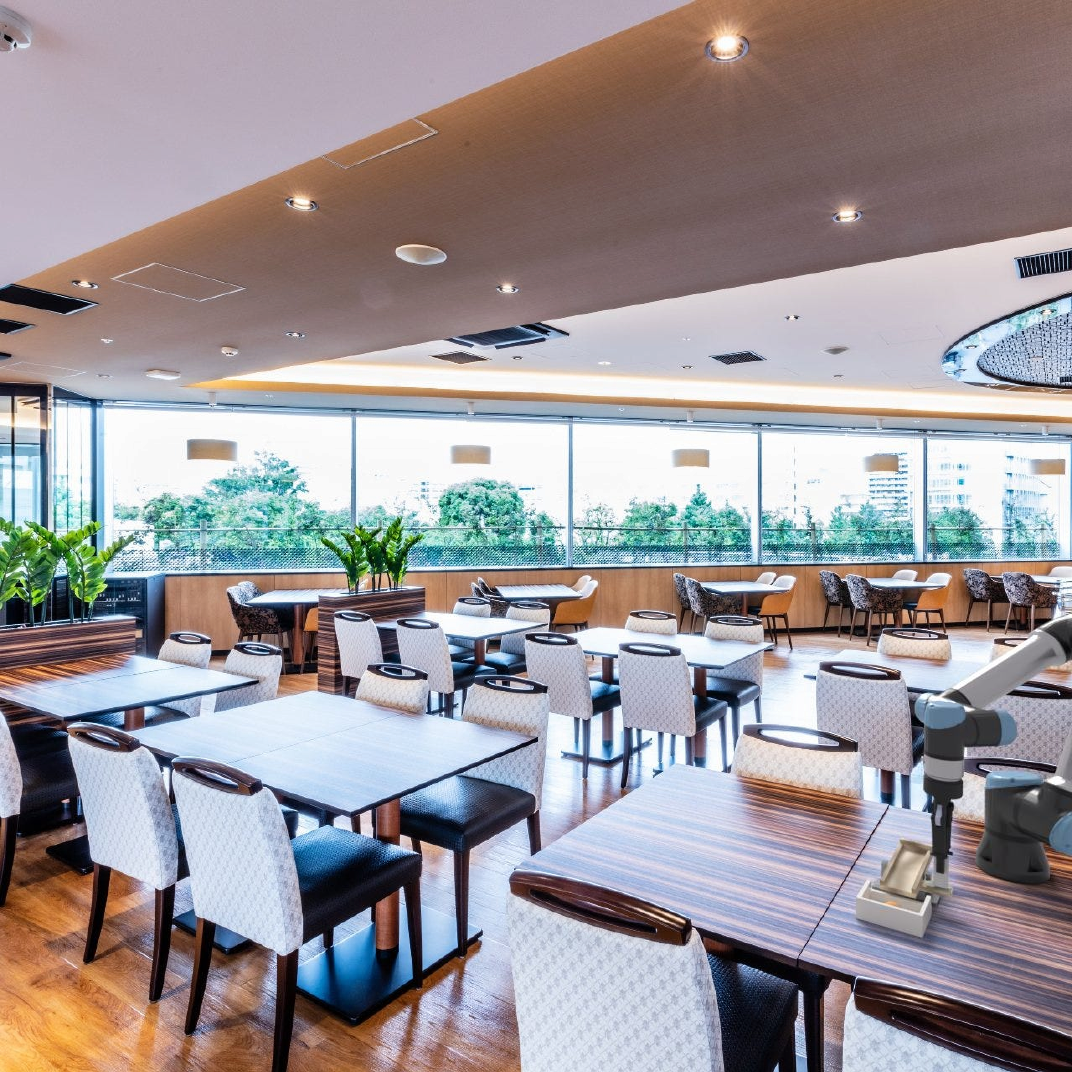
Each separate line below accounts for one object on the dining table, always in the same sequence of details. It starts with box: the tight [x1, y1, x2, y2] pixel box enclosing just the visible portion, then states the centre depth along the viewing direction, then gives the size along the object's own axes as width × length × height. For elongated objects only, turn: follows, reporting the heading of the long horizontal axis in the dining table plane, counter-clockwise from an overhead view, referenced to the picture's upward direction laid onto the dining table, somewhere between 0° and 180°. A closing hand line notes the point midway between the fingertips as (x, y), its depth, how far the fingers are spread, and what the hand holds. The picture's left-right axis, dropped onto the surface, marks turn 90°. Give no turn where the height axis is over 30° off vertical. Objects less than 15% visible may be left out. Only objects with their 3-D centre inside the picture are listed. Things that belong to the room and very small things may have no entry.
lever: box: [880, 837, 954, 899], centre depth 170 cm, size 13×21×3 cm, turn 144°
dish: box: [855, 878, 933, 939], centre depth 161 cm, size 13×11×4 cm
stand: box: [871, 859, 941, 907], centre depth 171 cm, size 13×5×6 cm, turn 54°
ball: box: [885, 901, 900, 908], centre depth 159 cm, size 4×4×4 cm
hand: (940, 885), depth 163 cm, fingers closed
